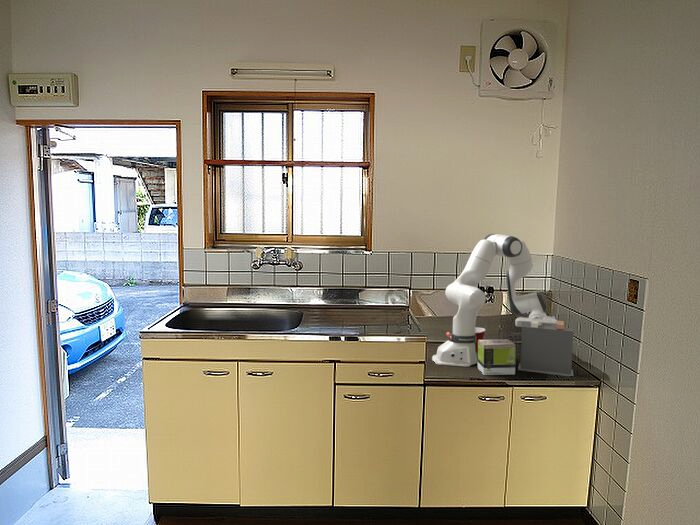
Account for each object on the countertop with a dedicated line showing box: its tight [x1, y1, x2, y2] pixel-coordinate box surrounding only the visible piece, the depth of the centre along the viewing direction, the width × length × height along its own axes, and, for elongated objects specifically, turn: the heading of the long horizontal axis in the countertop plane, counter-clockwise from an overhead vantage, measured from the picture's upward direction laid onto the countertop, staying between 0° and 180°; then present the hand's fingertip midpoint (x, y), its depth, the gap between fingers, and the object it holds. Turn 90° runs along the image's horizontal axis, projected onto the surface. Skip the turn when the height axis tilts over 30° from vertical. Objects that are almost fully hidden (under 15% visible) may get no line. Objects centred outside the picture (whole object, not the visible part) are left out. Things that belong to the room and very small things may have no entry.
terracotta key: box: [555, 320, 565, 329], centre depth 225 cm, size 4×10×7 cm, turn 157°
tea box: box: [477, 338, 517, 376], centre depth 224 cm, size 15×10×15 cm
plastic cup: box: [475, 326, 486, 353], centre depth 258 cm, size 11×11×12 cm
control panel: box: [517, 324, 574, 377], centre depth 225 cm, size 24×8×21 cm, turn 67°
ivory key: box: [531, 319, 539, 328], centre depth 228 cm, size 4×10×7 cm, turn 157°
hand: (535, 327), depth 236 cm, fingers closed
